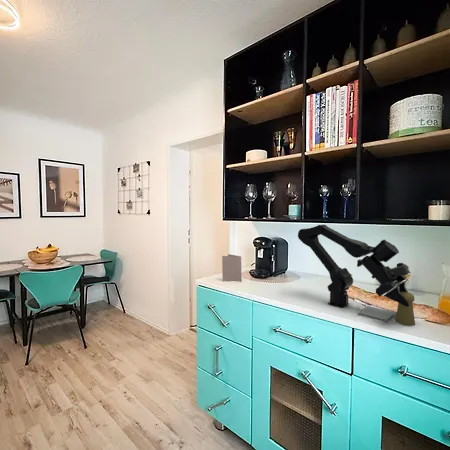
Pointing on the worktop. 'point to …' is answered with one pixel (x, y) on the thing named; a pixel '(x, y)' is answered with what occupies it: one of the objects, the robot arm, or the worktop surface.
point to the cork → (406, 311)
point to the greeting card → (231, 268)
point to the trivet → (376, 314)
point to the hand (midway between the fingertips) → (410, 304)
